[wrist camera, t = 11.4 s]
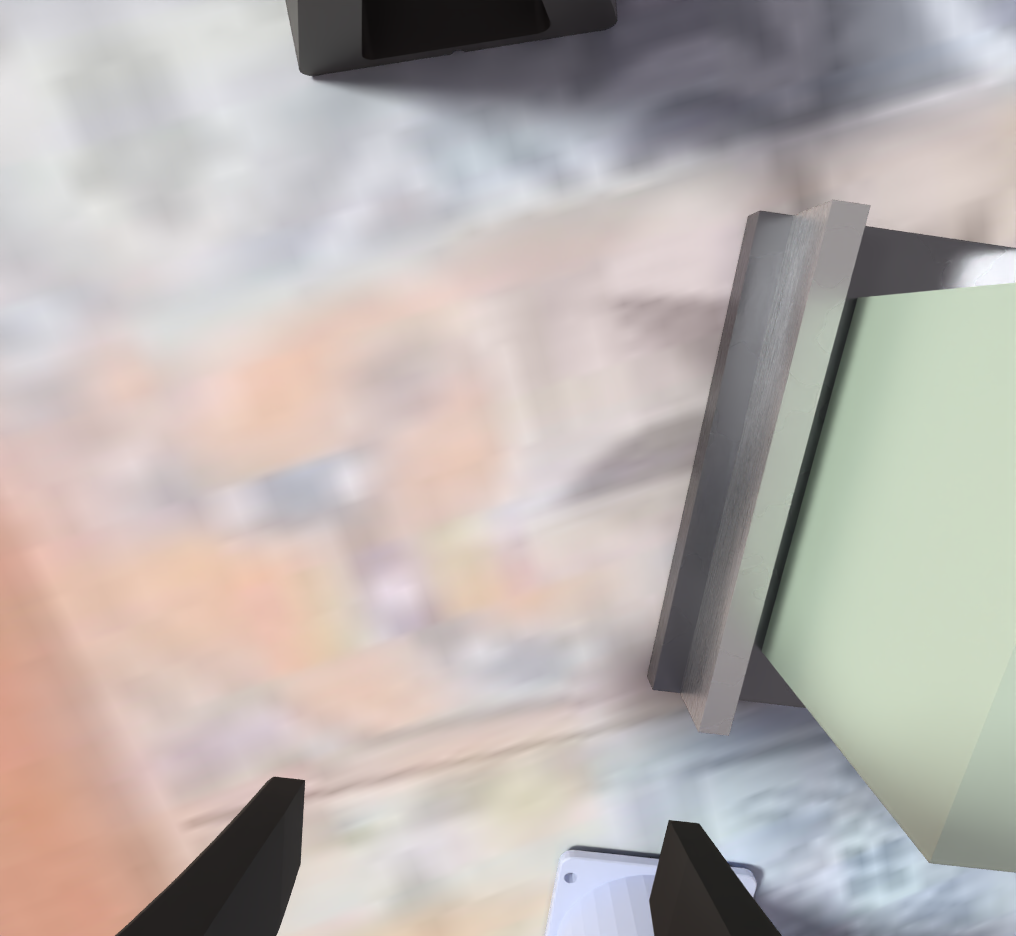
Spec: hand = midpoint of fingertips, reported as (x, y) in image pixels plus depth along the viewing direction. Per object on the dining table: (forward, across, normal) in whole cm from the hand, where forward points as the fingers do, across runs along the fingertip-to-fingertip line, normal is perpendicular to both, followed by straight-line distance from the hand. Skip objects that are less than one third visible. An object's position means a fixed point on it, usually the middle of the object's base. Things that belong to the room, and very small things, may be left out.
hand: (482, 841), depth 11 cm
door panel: (+9, -11, -6) cm, 15 cm away
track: (+9, -11, -6) cm, 16 cm away
